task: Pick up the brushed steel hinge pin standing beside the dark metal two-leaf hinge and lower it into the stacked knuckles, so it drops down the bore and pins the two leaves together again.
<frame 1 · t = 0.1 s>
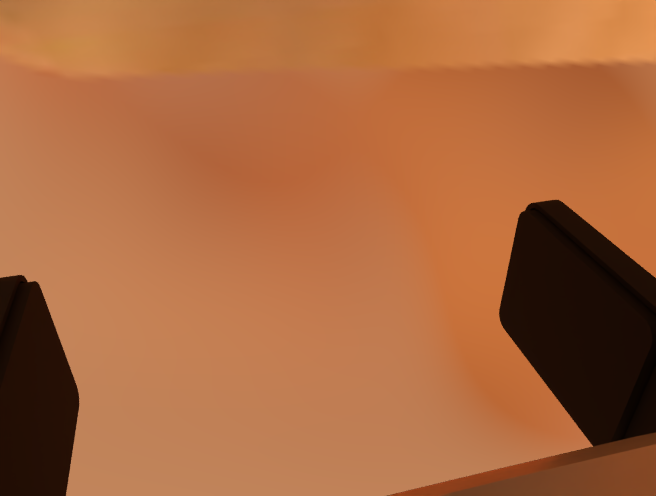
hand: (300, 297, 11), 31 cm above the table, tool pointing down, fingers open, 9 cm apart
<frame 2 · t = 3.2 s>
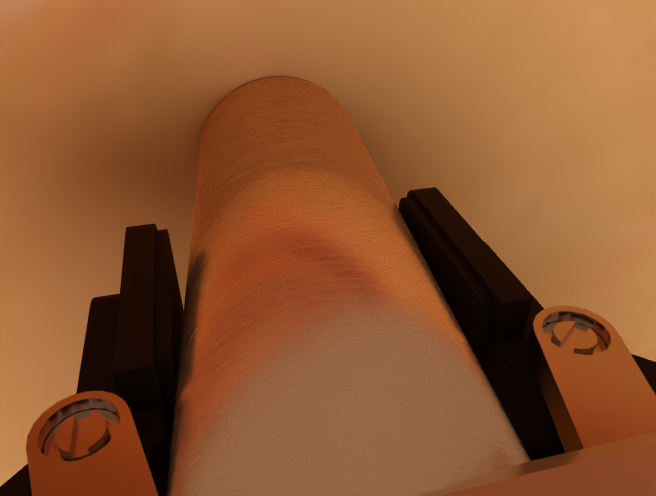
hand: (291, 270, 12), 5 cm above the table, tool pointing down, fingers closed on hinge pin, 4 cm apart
hinge pin: (280, 156, 16), on the table, tilted 5°, touching gripper
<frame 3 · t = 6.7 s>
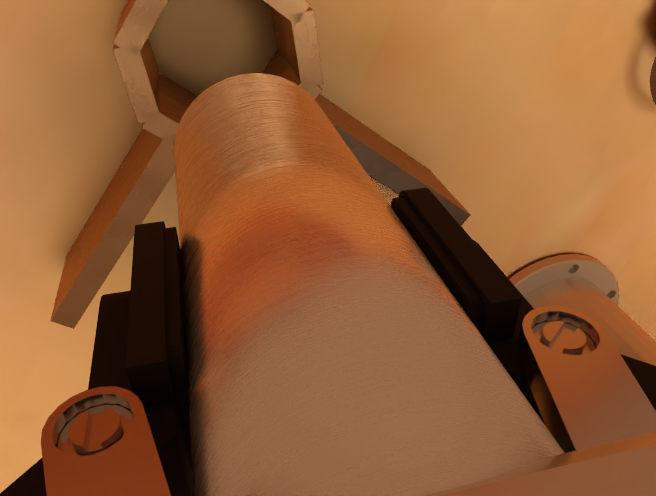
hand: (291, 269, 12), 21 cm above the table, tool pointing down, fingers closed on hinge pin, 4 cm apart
hinge pin: (255, 152, 16), point 16 cm above the table, touching gripper
hinge: (213, 35, 29), on the table
when the fingers open (8 cm above the table, at t = 10.0 s): hinge pin drops 2 cm, resting in hinge.
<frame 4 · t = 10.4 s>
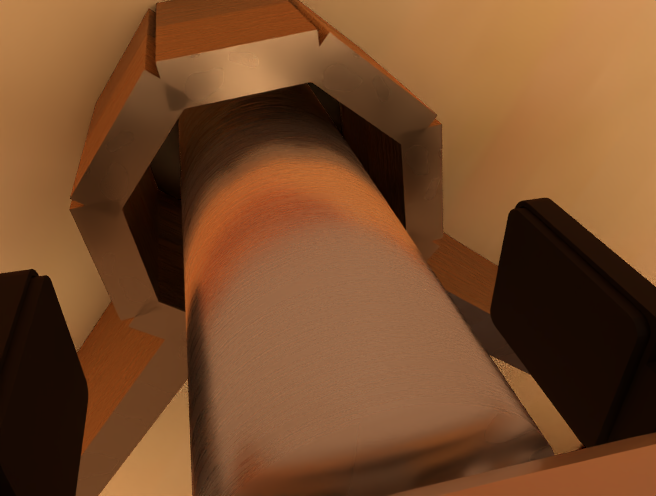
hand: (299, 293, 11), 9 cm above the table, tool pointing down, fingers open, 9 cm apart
hinge pin: (249, 121, 18), resting in hinge
hinge: (245, 131, 18), on the table
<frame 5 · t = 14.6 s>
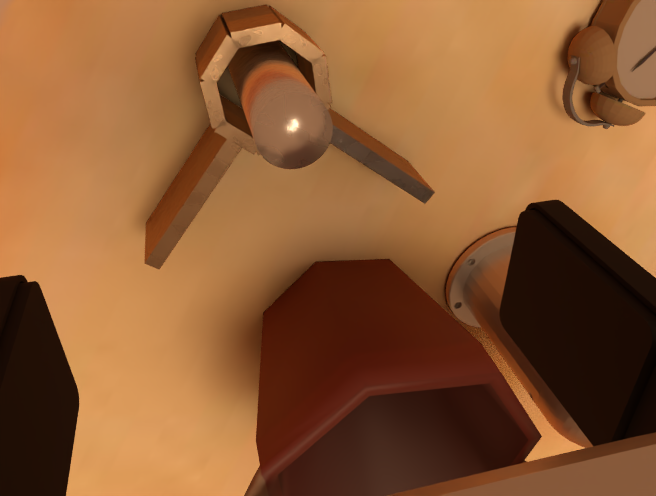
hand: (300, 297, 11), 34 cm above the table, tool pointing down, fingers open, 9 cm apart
hinge pin: (257, 62, 42), resting in hinge
hinge: (255, 67, 42), on the table
bucket: (342, 316, 59), on the table
alarm clock: (621, 44, 50), on the table
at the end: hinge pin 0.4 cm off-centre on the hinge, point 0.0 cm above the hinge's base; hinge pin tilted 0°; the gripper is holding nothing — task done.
